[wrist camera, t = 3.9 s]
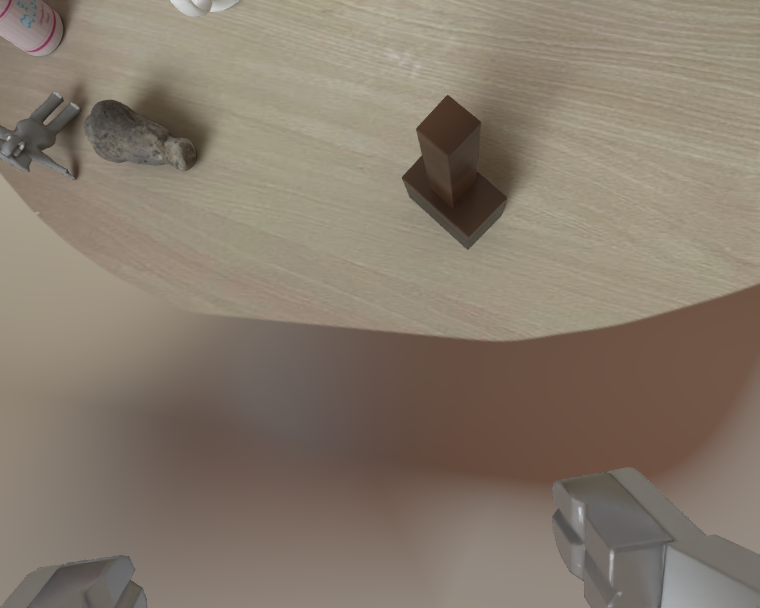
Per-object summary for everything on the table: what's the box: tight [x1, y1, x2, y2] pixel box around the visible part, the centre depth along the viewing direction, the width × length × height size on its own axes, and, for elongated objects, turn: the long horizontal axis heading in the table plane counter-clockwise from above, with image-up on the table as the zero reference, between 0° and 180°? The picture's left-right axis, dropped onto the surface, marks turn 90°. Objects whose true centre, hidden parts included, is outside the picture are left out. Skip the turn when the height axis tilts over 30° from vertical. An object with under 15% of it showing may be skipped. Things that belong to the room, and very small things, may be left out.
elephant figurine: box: [0, 91, 80, 180], centre depth 41 cm, size 10×6×9 cm
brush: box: [402, 95, 507, 249], centre depth 27 cm, size 7×4×14 cm, turn 45°
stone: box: [84, 100, 196, 171], centre depth 38 cm, size 10×5×8 cm
